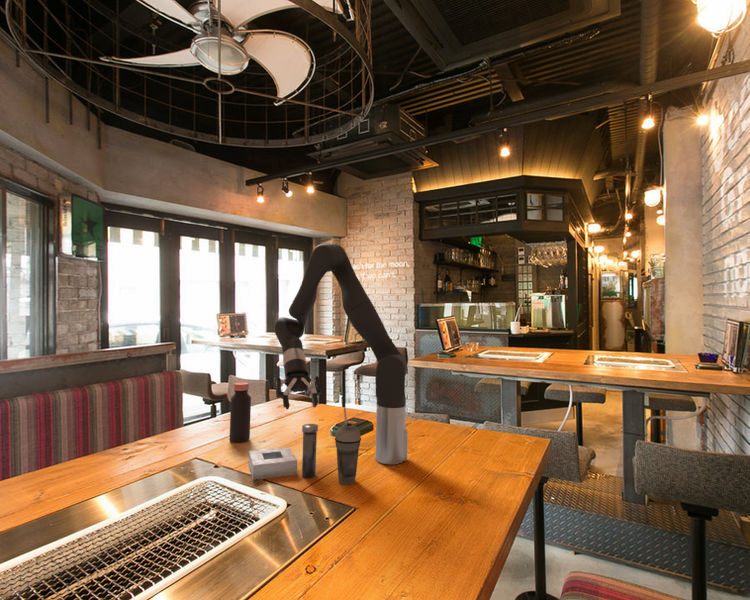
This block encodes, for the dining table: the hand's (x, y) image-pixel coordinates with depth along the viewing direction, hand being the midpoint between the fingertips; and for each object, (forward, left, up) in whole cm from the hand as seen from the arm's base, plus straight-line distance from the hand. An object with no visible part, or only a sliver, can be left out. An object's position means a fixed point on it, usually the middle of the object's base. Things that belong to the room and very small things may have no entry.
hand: (301, 406), depth 125 cm
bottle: (+16, -27, -17) cm, 35 cm away
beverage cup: (-9, +18, -17) cm, 27 cm away
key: (0, +11, -17) cm, 20 cm away
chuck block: (+9, +3, -17) cm, 19 cm away
